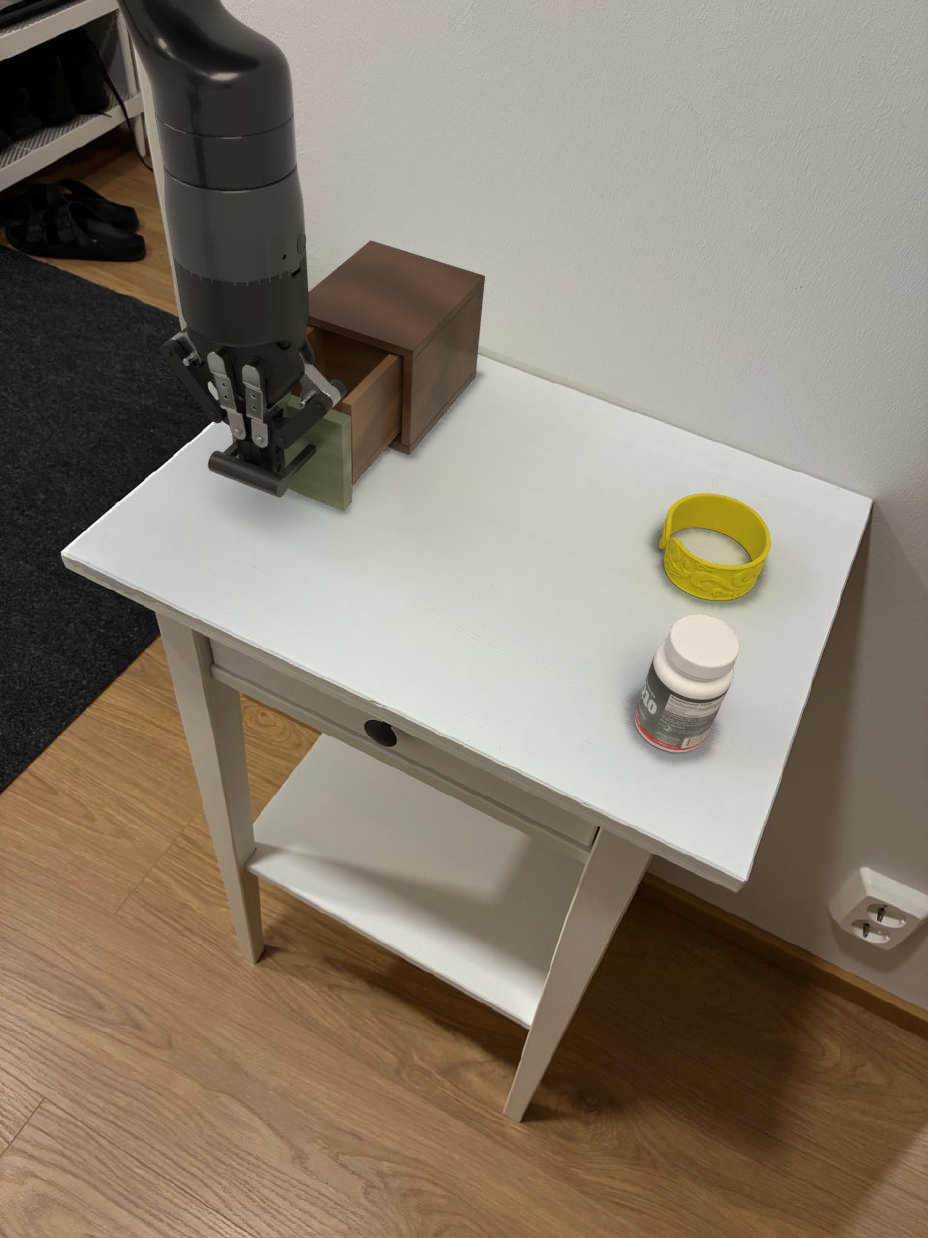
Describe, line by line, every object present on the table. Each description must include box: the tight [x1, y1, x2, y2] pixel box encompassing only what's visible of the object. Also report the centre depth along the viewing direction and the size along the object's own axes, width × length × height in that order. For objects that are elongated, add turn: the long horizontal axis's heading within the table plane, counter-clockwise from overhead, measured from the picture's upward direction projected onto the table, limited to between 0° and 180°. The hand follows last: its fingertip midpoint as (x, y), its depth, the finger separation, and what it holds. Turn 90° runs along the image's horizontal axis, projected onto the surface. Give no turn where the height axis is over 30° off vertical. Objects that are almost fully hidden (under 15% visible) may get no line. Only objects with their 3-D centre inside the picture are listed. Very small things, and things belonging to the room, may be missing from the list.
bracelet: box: [658, 492, 772, 601], centre depth 70 cm, size 7×8×3 cm
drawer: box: [207, 324, 404, 512], centre depth 71 cm, size 17×9×8 cm, turn 154°
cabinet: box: [307, 240, 486, 455], centre depth 79 cm, size 13×11×10 cm
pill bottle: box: [634, 613, 741, 753], centre depth 58 cm, size 5×5×8 cm
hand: (264, 476), depth 68 cm, fingers closed
